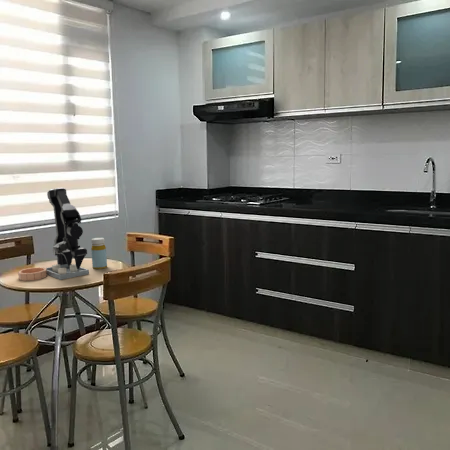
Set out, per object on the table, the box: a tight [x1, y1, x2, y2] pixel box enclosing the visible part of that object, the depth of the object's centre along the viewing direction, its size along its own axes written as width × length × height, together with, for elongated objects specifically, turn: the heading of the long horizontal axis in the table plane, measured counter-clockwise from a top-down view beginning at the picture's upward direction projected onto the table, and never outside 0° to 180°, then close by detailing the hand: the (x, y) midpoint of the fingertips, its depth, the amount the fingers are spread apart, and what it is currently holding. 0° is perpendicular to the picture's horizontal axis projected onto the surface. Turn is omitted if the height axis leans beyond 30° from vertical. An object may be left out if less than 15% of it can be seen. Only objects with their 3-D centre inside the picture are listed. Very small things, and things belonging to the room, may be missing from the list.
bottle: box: [90, 237, 108, 270], centre depth 236 cm, size 7×7×15 cm
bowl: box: [17, 266, 48, 281], centre depth 221 cm, size 12×12×4 cm
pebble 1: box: [51, 263, 60, 274], centre depth 227 cm, size 4×4×4 cm
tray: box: [45, 264, 90, 280], centre depth 227 cm, size 20×14×2 cm
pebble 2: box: [58, 268, 67, 275], centre depth 220 cm, size 4×4×4 cm
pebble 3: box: [70, 263, 78, 273], centre depth 227 cm, size 4×4×4 cm
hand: (73, 267), depth 227 cm, fingers open, 9 cm apart
